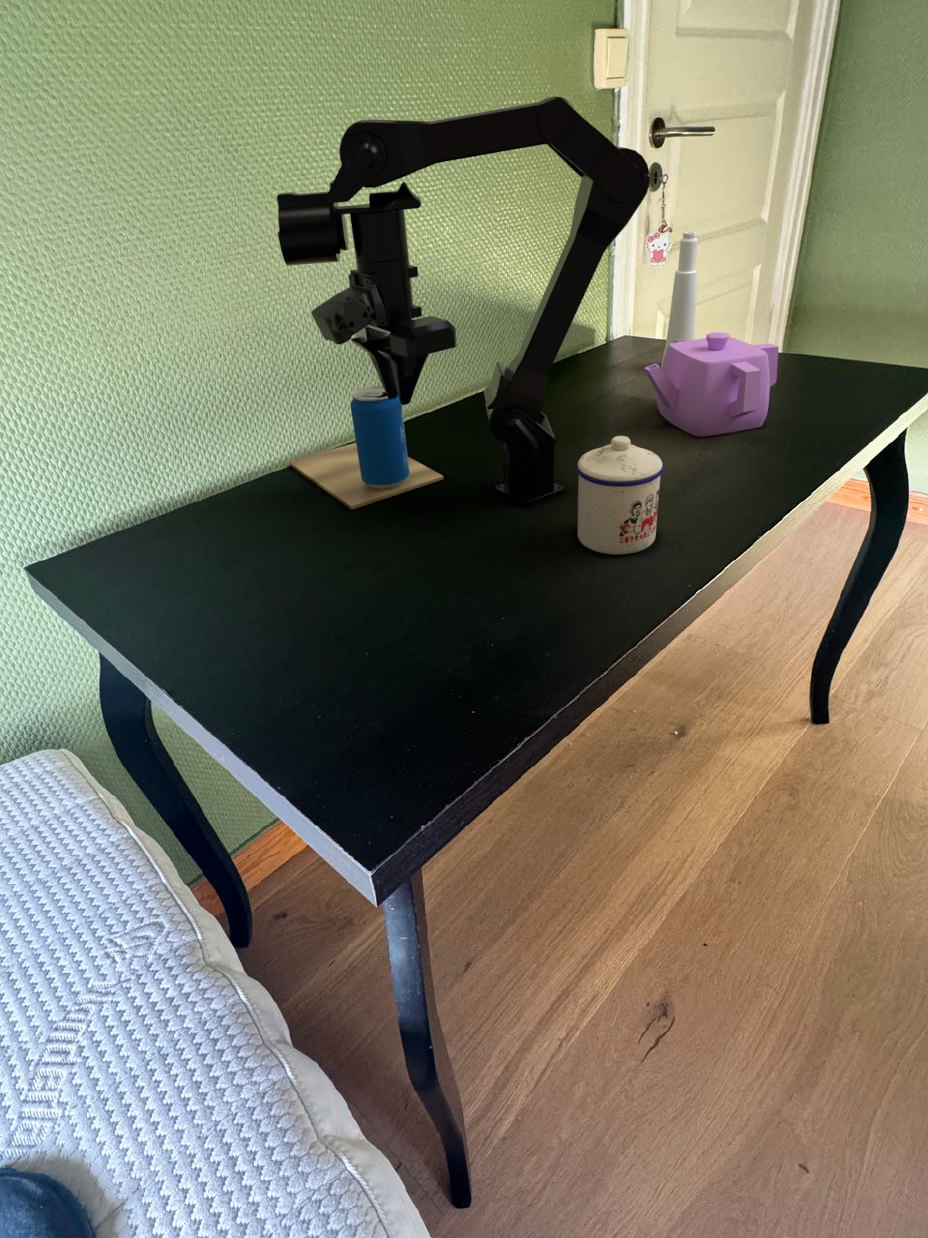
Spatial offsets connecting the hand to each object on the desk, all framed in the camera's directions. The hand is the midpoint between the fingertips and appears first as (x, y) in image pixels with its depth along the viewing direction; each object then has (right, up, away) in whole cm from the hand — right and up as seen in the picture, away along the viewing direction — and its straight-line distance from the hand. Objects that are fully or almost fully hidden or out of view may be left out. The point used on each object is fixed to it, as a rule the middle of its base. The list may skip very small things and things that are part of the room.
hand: (398, 401), depth 91 cm
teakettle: (+44, +4, +25) cm, 51 cm away
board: (-6, -5, +16) cm, 18 cm away
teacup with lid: (+26, -16, -4) cm, 31 cm away
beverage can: (-3, -8, +12) cm, 14 cm away
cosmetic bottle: (+46, +20, +47) cm, 69 cm away
